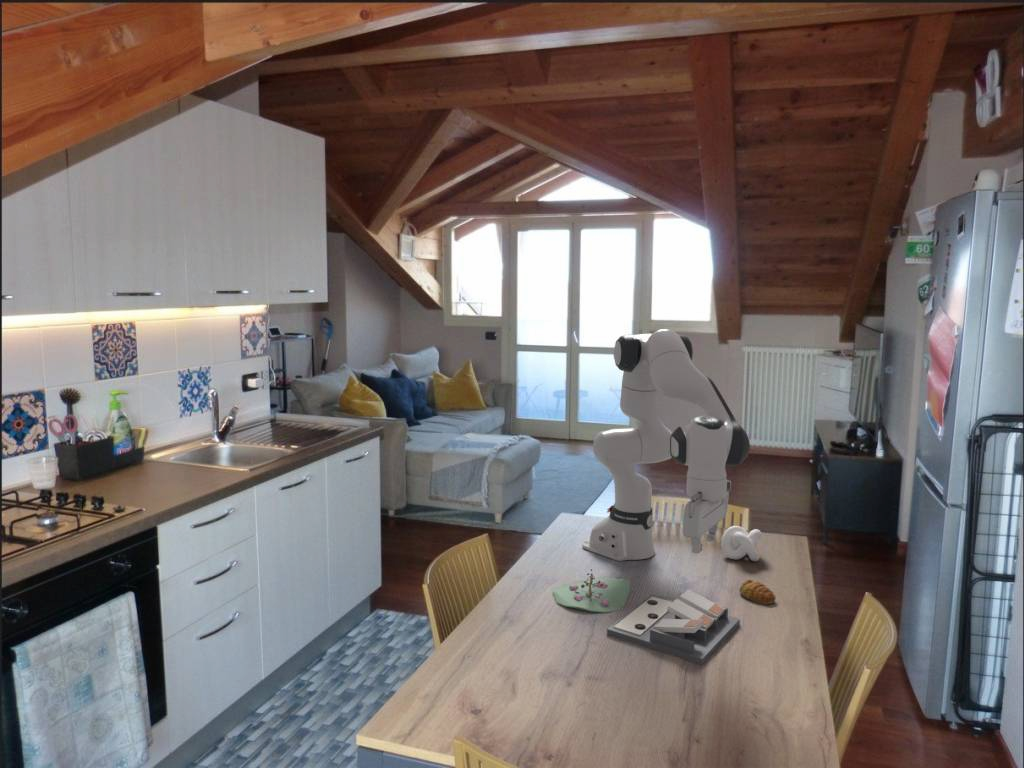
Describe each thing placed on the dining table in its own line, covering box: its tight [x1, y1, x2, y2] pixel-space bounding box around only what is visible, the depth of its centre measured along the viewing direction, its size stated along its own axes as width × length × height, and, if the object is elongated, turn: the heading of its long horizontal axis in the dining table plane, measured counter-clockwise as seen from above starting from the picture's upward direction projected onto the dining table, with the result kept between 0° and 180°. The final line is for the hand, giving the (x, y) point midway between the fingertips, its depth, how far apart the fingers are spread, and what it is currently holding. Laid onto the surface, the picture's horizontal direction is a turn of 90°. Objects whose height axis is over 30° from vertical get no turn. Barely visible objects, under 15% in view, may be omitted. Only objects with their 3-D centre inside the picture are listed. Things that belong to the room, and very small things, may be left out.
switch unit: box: [606, 594, 741, 666], centre depth 189 cm, size 24×24×4 cm
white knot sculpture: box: [721, 525, 762, 562], centre depth 234 cm, size 11×12×9 cm
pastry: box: [739, 579, 776, 605], centre depth 207 cm, size 9×7×4 cm
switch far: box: [678, 588, 725, 619], centre depth 192 cm, size 10×5×1 cm, turn 55°
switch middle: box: [667, 598, 714, 630], centre depth 187 cm, size 10×5×1 cm, turn 55°
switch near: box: [654, 619, 703, 633], centre depth 181 cm, size 10×5×1 cm, turn 54°
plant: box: [552, 569, 631, 614], centre depth 209 cm, size 25×21×9 cm
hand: (704, 546), depth 180 cm, fingers open, 8 cm apart
